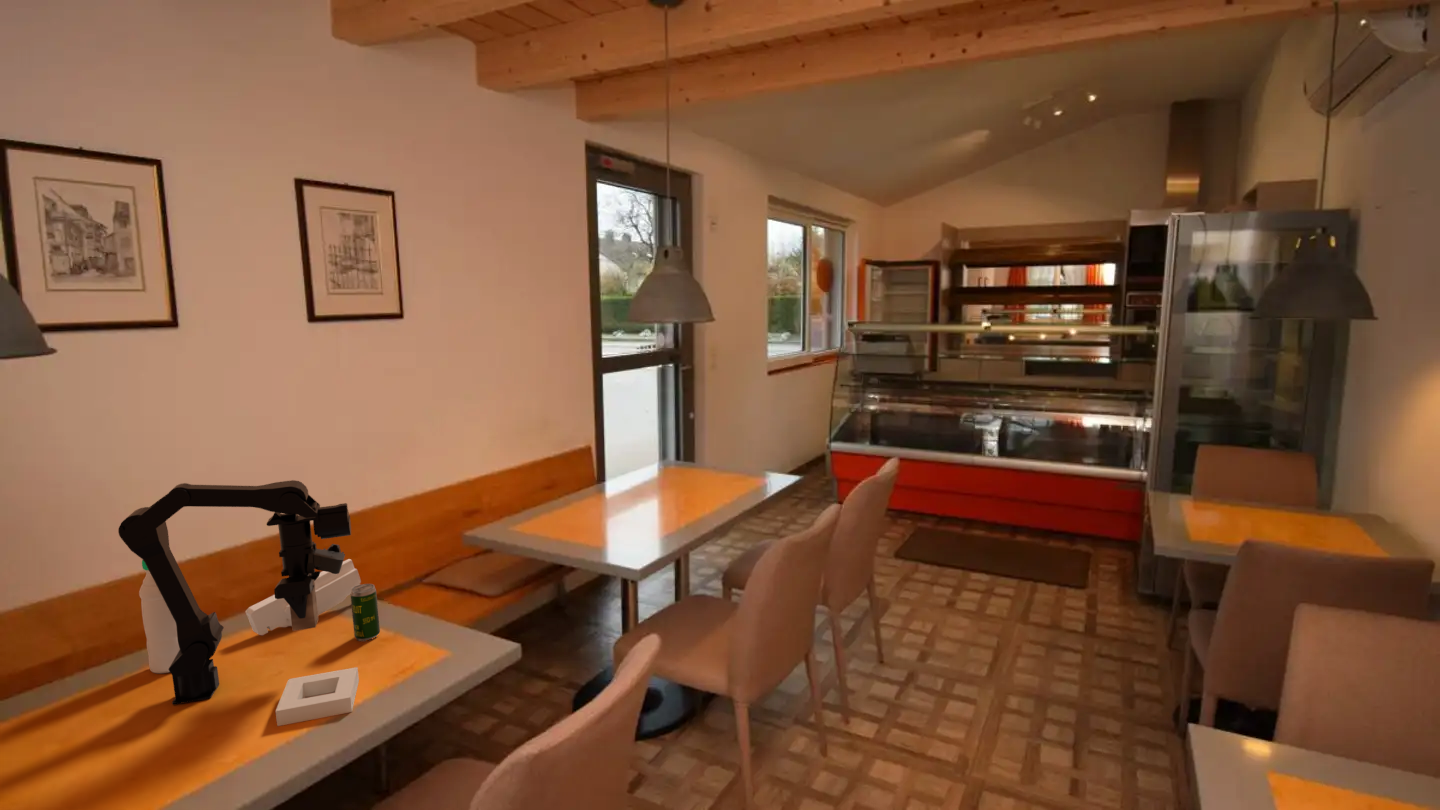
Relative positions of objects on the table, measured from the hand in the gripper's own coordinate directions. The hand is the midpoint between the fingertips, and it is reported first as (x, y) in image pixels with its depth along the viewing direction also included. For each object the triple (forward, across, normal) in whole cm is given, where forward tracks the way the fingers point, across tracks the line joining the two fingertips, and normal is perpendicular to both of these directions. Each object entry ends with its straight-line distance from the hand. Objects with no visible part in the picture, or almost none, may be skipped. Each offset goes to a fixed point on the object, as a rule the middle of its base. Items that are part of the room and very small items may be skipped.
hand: (304, 613), depth 155 cm
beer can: (+13, +14, -10) cm, 21 cm away
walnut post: (+2, 0, 0) cm, 2 cm away
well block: (+13, -14, -4) cm, 20 cm away
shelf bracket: (+13, +30, +4) cm, 33 cm away
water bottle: (+13, +15, +29) cm, 35 cm away
